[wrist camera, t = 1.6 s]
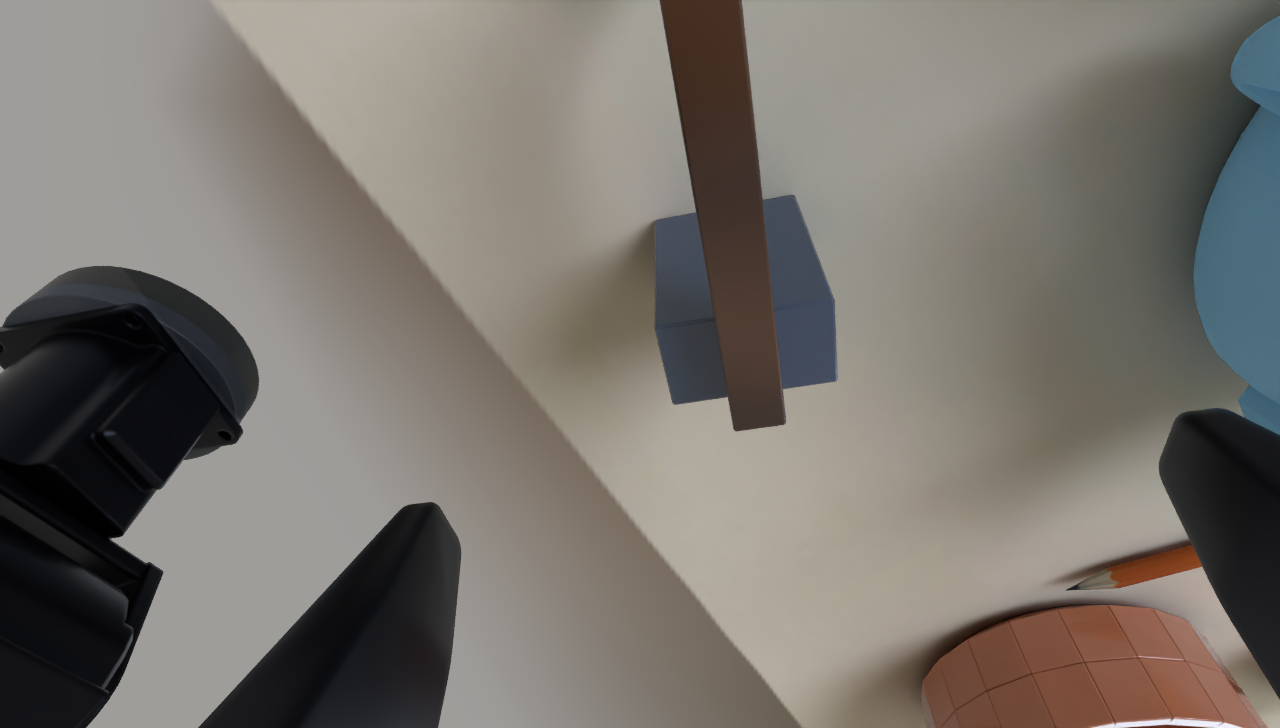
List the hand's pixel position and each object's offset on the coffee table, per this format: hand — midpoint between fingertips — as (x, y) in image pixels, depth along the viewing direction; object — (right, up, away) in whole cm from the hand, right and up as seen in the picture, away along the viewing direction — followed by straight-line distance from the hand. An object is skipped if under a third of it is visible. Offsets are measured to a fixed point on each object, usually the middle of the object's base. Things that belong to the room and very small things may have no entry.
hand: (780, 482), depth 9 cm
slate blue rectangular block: (+1, +5, +11) cm, 13 cm away
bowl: (+19, -14, +26) cm, 35 cm away
